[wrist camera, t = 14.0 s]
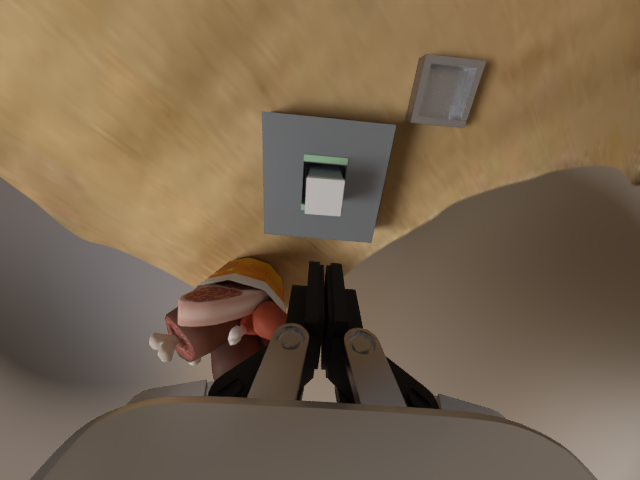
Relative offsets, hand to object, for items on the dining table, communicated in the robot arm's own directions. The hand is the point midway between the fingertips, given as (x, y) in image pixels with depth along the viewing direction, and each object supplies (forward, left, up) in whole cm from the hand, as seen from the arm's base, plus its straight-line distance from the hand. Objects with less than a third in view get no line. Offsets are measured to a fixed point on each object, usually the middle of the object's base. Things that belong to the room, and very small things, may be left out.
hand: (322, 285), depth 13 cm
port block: (0, 0, -27) cm, 27 cm away
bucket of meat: (+21, -11, -27) cm, 36 cm away
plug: (0, 0, -26) cm, 26 cm away
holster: (-12, +14, -27) cm, 32 cm away
